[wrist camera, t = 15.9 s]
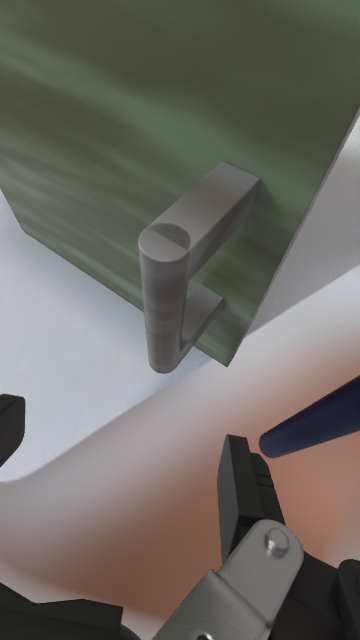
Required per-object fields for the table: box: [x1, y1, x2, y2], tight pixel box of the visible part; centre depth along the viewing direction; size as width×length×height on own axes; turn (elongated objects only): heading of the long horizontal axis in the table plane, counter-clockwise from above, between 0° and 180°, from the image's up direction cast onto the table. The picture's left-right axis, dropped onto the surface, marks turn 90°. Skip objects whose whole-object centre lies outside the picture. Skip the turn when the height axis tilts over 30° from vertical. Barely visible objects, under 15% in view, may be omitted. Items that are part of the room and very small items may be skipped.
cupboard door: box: [0, 0, 360, 374], centre depth 18 cm, size 7×26×24 cm, turn 54°
